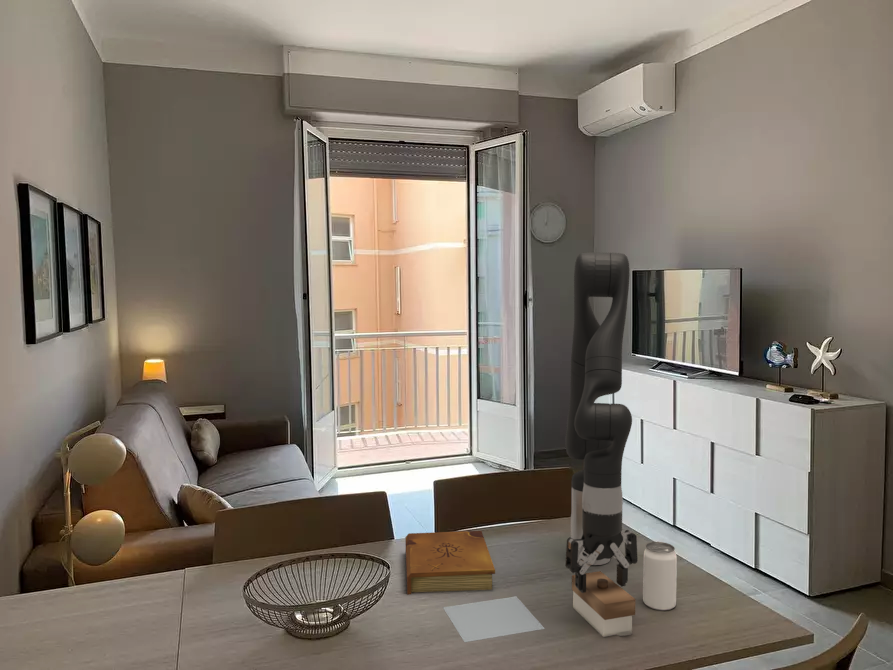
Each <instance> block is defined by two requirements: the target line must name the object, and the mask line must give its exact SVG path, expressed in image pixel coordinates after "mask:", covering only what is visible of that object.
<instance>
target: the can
mask: <svg viewBox="0 0 893 670" xmlns="http://www.w3.org/2000/svg"><path fill="white" fill-rule="evenodd" d="M675 549H676V548H675V546H674V545H672V544H670V543H667V542H664V541H650V542H647V543H646V544H645V549H644V551H643V559H642V560H643V563H642V565H643V567H642V568H643V569H642V570H643V571H642V572H643V573H642V574H643V575H642V577H643V579H642V585H643V586H642V601H643V603H644V604H645V605H646V606H647V607H648V608H650V609H653V610H657V611H670V610H672V609H674V608H675V607H676V606H677V568H678V567H677V566H678V565H677V564H678V563H677V561H678V560H677V558H678V557H677V556H678V555H677V554H676V553H677V552H675V551H676V550H675Z"/></svg>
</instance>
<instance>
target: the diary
mask: <svg viewBox="0 0 893 670" xmlns="http://www.w3.org/2000/svg"><path fill="white" fill-rule="evenodd" d="M405 563H406V564H405V566H406V567H405V569H406V571H405V573H406V590H407V591H406V592H407V593H406V594H407V596H410V595H412V593H429V592H432V593H433V592H455V591H457V592H459V591H461V592H462V591H484V590H485V591H487V590H489V591H491V590H493V575H495V574H496V568H495V566H494V563H493V560H492V557H491V554H490V551H489V548H488V546H487V542H486V540H485V536H484V534H483V532H482V530H466V531H464V530H463V531H439V532H438V531H437V532H416V533H414V532H413V533H412V532H411V533H408V534H407V535H405Z"/></svg>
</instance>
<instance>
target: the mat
mask: <svg viewBox="0 0 893 670" xmlns="http://www.w3.org/2000/svg"><path fill="white" fill-rule="evenodd" d="M442 609H443V610H444V612H445V613H446V615H447V616H448V619H449V620H450V621H451V624H452V625H453V626H454V628H455V630H456V631H457V633H458V634H459V636H460V637H461V640H462V641H463V642H464V643H469V642H475V641H481V640H486V639H493V638H498V637H503V636H504V637H505V636H511V635H517V634H522V633H528V632H533V631H534V632H535V631H540V630H545V629H546V628H545V627H544V626H543V625H542V623H541V622H540V621H539V620H538V619H537V618H536V616H534V615H533V613H531V611H530V610H529V609H528V607H526V605H525V604H524V603H523V602H522V600H520V599H519V598H518V596H517V595H516V596H515V595H514V596H510V597H504V598H496V599H490V600H483V601H476V602H470V603H462V604H456V605H450V606H443V607H442Z"/></svg>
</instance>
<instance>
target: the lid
mask: <svg viewBox="0 0 893 670" xmlns="http://www.w3.org/2000/svg"><path fill="white" fill-rule="evenodd" d="M585 574H586V592H585V593H581V592H580V591H579V590H578V588H577V587H576V586H575V574H572V575H571V590H572V592H573V591H574V592H575V593H576V594H577V595H578V596H579V597H580V598H581V599H582V600H584V601H585V602H586V603H587V604H588V605H589V606H590V607H591V608H592V609H593V610H594V611H595V612H597V613H598V614H599V615H600V616H601V617H602V618H603V619H604V620H608V619H614V618H620V617H626V616H632V617H633V616H636V603H637V602H636V601H637V600H636V598H635V597H633V596H632V595H631V594H629V592H627V591H626V590H624V589H623V588H622V587H621V586H620V585H619V584H618V583H617V582H615V581H613V580H612V579H611V578H610V577H608V576H607V575H606V574H605V573H603V571H600V570H599V571H594V572H593V571H591V572H585Z"/></svg>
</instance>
